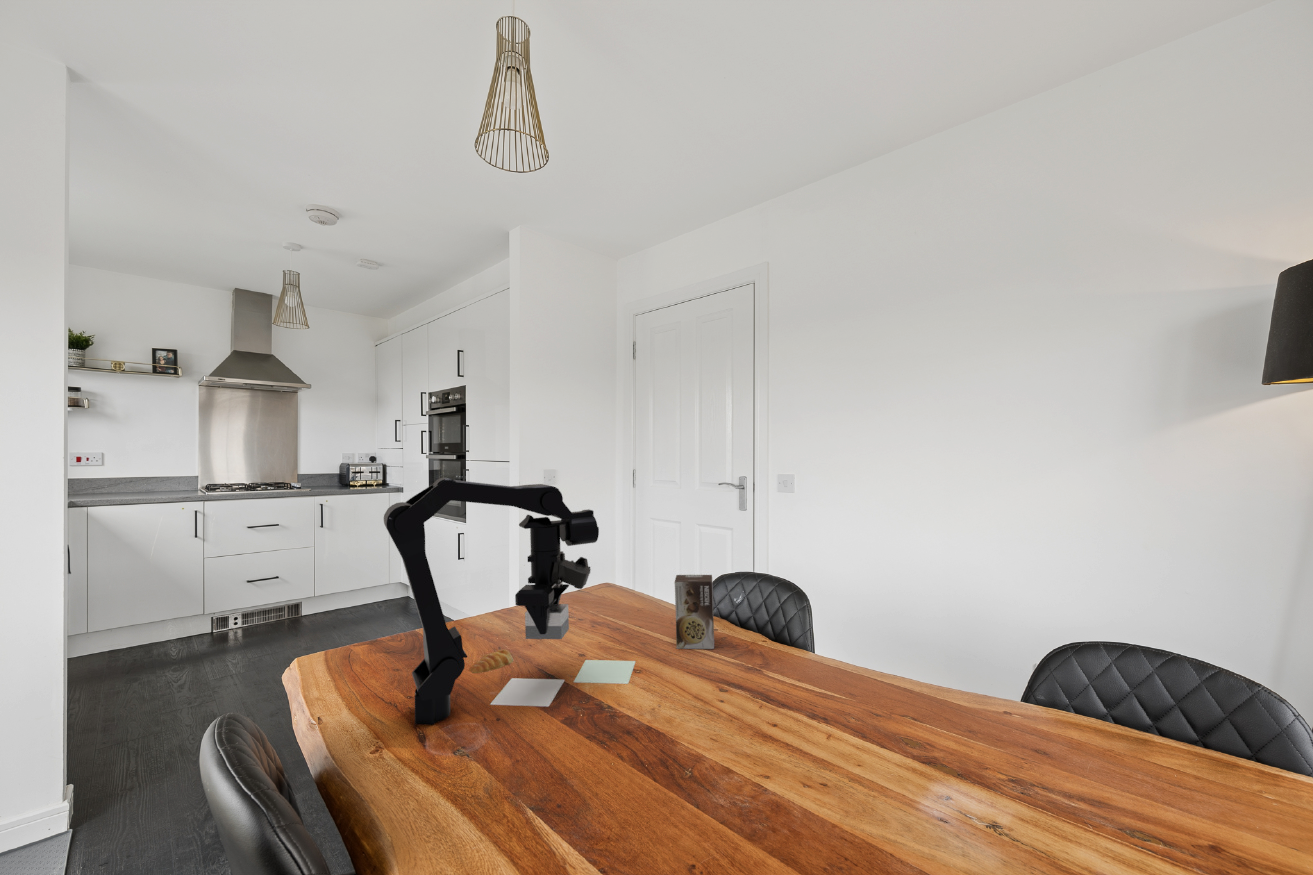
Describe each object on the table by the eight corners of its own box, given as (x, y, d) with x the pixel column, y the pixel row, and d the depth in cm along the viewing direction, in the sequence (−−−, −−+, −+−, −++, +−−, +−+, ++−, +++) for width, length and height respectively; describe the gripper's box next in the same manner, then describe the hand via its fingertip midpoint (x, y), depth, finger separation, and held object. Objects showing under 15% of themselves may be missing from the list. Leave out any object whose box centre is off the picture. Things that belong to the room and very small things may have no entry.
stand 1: (548, 714, 98) (548, 706, 98) (490, 712, 100) (489, 704, 100) (564, 687, 109) (564, 679, 109) (511, 685, 110) (511, 678, 110)
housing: (561, 639, 104) (560, 612, 104) (525, 638, 104) (524, 612, 104) (568, 629, 109) (568, 604, 109) (534, 628, 110) (534, 603, 110)
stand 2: (628, 691, 107) (628, 683, 107) (573, 689, 108) (573, 682, 108) (635, 667, 118) (635, 661, 118) (585, 666, 119) (585, 659, 119)
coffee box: (714, 639, 134) (713, 574, 134) (714, 649, 128) (713, 580, 128) (677, 639, 135) (676, 573, 135) (675, 649, 129) (674, 580, 129)
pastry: (480, 684, 112) (480, 666, 112) (461, 677, 116) (460, 658, 116) (517, 668, 119) (516, 651, 119) (497, 662, 123) (497, 645, 123)
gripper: (574, 559, 97) (576, 647, 97) (596, 539, 115) (597, 613, 115) (513, 559, 98) (515, 646, 98) (544, 540, 116) (546, 613, 116)
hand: (547, 628), depth 107 cm, fingers closed on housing, 5 cm apart
